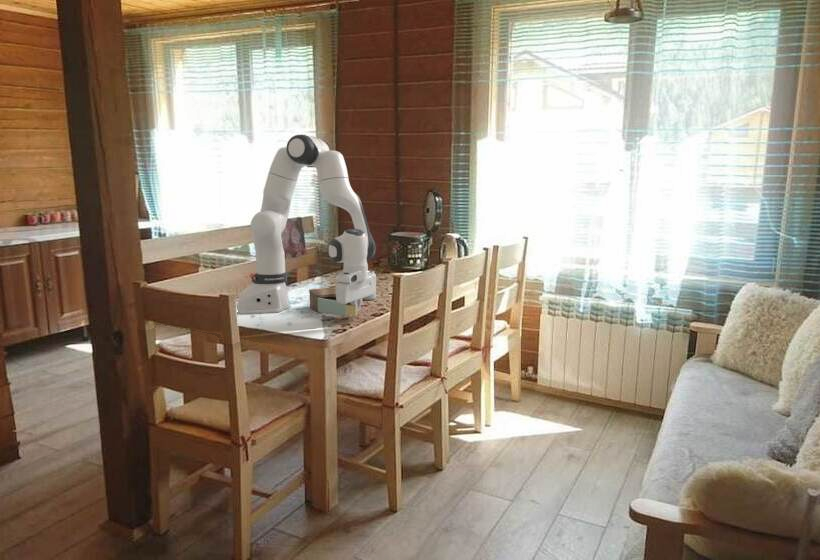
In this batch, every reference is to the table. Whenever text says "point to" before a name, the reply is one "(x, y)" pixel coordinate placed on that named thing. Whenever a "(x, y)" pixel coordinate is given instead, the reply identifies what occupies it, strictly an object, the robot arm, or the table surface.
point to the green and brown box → (322, 296)
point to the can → (375, 288)
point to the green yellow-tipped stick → (336, 308)
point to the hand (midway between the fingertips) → (356, 311)
